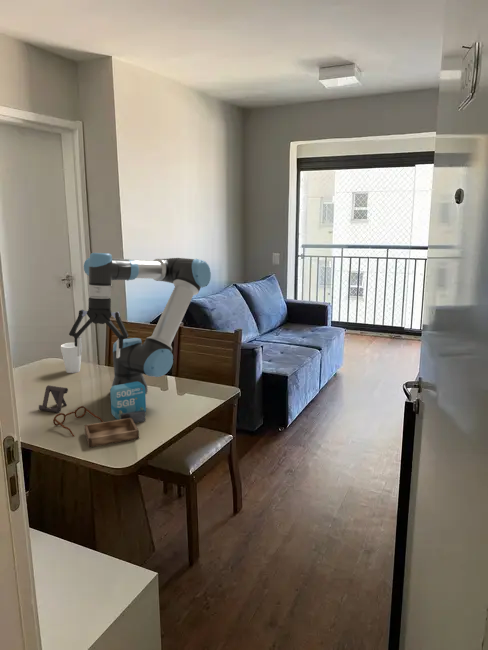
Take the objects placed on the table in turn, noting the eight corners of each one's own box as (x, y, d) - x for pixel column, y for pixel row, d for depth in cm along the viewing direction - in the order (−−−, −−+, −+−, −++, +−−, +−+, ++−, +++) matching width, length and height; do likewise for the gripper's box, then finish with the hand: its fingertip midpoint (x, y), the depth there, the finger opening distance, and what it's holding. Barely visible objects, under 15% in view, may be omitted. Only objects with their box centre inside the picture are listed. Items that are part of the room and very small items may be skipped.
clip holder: (135, 405, 191) (135, 396, 190) (145, 421, 177) (145, 411, 176) (113, 409, 188) (113, 399, 187) (121, 425, 173) (121, 414, 172)
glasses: (85, 416, 182) (84, 404, 181) (106, 426, 174) (105, 413, 173) (52, 427, 172) (51, 414, 171) (73, 438, 164) (72, 424, 163)
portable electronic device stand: (38, 410, 186) (36, 390, 184) (52, 403, 193) (51, 383, 191) (57, 413, 183) (55, 392, 181) (71, 406, 190) (69, 386, 188)
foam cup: (58, 373, 230) (56, 347, 227) (68, 367, 238) (67, 342, 236) (77, 374, 228) (75, 348, 225) (86, 368, 237) (85, 343, 234)
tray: (131, 425, 173) (131, 417, 172) (139, 438, 163) (138, 430, 162) (85, 433, 167) (84, 425, 166) (89, 447, 156) (88, 439, 156)
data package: (115, 420, 177) (113, 389, 174) (111, 416, 181) (109, 386, 178) (146, 413, 184) (145, 383, 181) (141, 409, 187) (140, 380, 185)
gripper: (60, 296, 165) (59, 357, 168) (134, 300, 166) (132, 360, 169) (66, 294, 172) (66, 352, 175) (137, 298, 174) (135, 356, 177)
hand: (98, 356), depth 172 cm, fingers open, 13 cm apart
